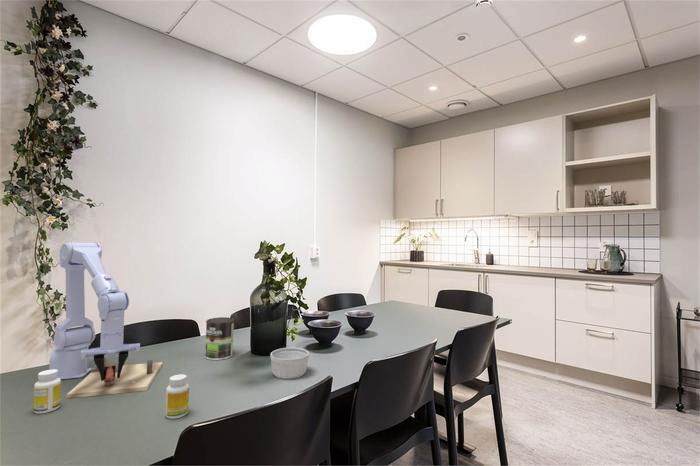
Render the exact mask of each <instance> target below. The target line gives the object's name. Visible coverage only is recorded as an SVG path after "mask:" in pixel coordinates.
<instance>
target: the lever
mask: <svg viewBox="0 0 700 466" xmlns="http://www.w3.org/2000/svg"><path fill="white" fill-rule="evenodd" d="M105 365H106V366H105V367H104V382H105V385H104V386H106V385H112V384H114V381H115V372H117V371H118V364H116V363H115V364H114V363H113V364H110V365H107V364H105Z"/></svg>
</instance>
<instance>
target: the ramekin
mask: <svg viewBox="0 0 700 466" xmlns="http://www.w3.org/2000/svg"><path fill="white" fill-rule="evenodd" d="M269 355H270V357H269V358H270V362H271V363H270V364H271V365H270V366H271V372H272V374H273V375H274V376H275V378H278V379H283V380H293V379H298V378H301V377H303V376H304V375H305V373H306V372H307V370H308V369H307V368H308V362H309V359H310V353H309V350H307V349H304V348H301V347H300V348H299V347H282V348H278V349H275V350H273V351H272V352H270V354H269Z"/></svg>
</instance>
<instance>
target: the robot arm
mask: <svg viewBox="0 0 700 466" xmlns="http://www.w3.org/2000/svg"><path fill="white" fill-rule="evenodd" d="M102 254H103V247H102V245H101V244H100V243H99V242H97V241H94V242H81V241H79V242H78V241H77V242H75V241H74V242H72V241H71V242H70V241H65V242H64V243H62V245H61V246H60V249H59V264H60V265H59V266H60V267H61V269H62V268H63V269H65V318H64V319H63V320H61V322H60V323H58V324H57V325H56V326H55V328H54V330H55V331H54V335H53V345H54V348H55V349H54V350H52V352H51V354H50V357H49V366H48V367H49V369H48V370H52V369H56V370H58V376H57V378H60V379H61V380H65V379H66V380H68V379H80V378H83V377H84V376H86V375H87V374H88V373H89V372H91V369H92V368H93V367H88V358H93V363H94V364H96V365H95V366H97V367H98V370H99V372H100V376H101V381H104V358H105V356H106V355H114V354H118V358H117V359H118V362H117V363H118V364H117V365H118V371H117V378H120V374H121V370H122V367H123V365H125V363H126V360H127V359H128V357H129V352H140V351H141V343H124V332H125V331H124V329H125V328H124V327H125V311H126V310H127V309H128V308H129V306H130V298H129V295H128V293H127V291H126V290H125V291H123V289H120V288H119V287H118V284H117V283H116V281H115V279H114V277H113V276H112V275H111V274H109V273H106V269H105V267H104V264H103V262H102V260H101V259H102ZM85 270H86V271H87V272H88V274H89V275H90V276H91V278H92V280H91V282H90V284H91V287H92V289H93V291H94V293H95V294H96V296H97V298H98V301H97V309H98V312H99V313H98V314H99V315H98V317H99V319H101V321H100V322H101V323H100V343H99V345H100V346H99V347H93V348H89V347H90V346H91V344H92V343H93V341H94V340H95V338H96V329H95V328H94V327H95V326H94V321H93V320H92V319H90V318H87V317H86V316H85V315H86V314H85V313H86V310H85V309H86V308H85V307H86V306H85V302H86V301H85V300H86V299H85V297H86V296H85Z"/></svg>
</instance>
